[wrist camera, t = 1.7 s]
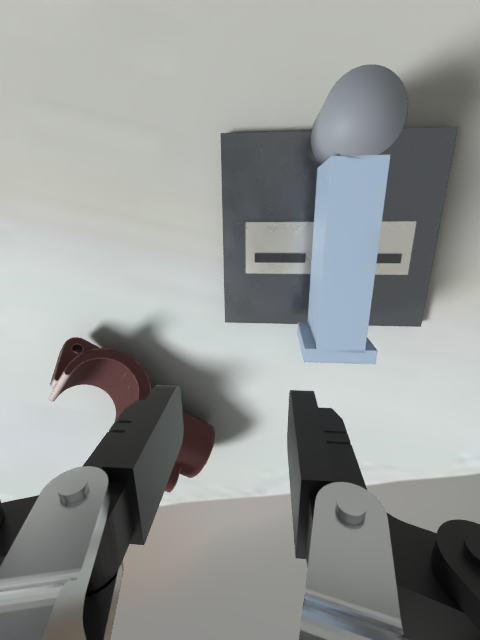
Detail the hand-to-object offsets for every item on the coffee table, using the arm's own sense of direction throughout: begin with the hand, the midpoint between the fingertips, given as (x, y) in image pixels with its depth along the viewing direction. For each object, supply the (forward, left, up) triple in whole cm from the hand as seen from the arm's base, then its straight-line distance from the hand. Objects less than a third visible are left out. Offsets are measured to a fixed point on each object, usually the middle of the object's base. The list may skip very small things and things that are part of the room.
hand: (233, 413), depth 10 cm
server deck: (-4, +6, -21) cm, 22 cm away
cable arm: (-5, +6, -17) cm, 19 cm away
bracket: (+13, -13, -21) cm, 28 cm away
